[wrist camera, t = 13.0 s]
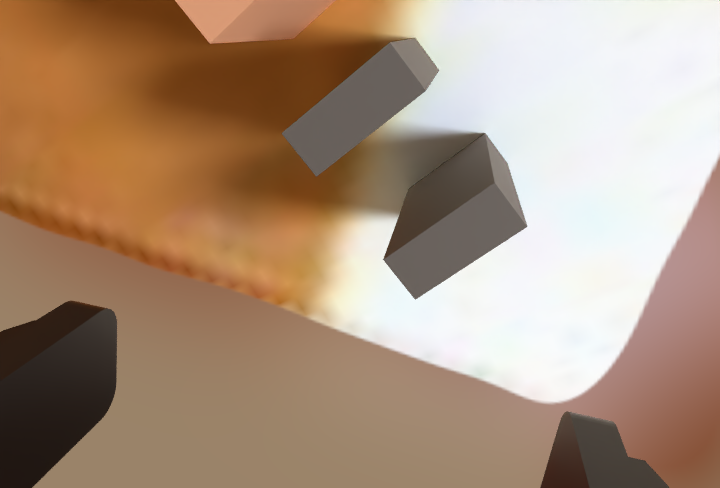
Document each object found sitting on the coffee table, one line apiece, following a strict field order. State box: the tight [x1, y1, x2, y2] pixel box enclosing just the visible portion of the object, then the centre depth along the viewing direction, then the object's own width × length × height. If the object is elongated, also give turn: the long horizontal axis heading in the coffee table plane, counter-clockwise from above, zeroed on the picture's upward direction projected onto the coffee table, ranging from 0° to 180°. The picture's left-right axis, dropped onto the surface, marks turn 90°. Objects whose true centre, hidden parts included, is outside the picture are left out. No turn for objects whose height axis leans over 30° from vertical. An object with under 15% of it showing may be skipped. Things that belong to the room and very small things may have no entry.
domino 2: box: [282, 38, 439, 177], centre depth 26 cm, size 2×5×11 cm, turn 128°
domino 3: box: [383, 134, 527, 299], centre depth 27 cm, size 2×5×11 cm, turn 128°
